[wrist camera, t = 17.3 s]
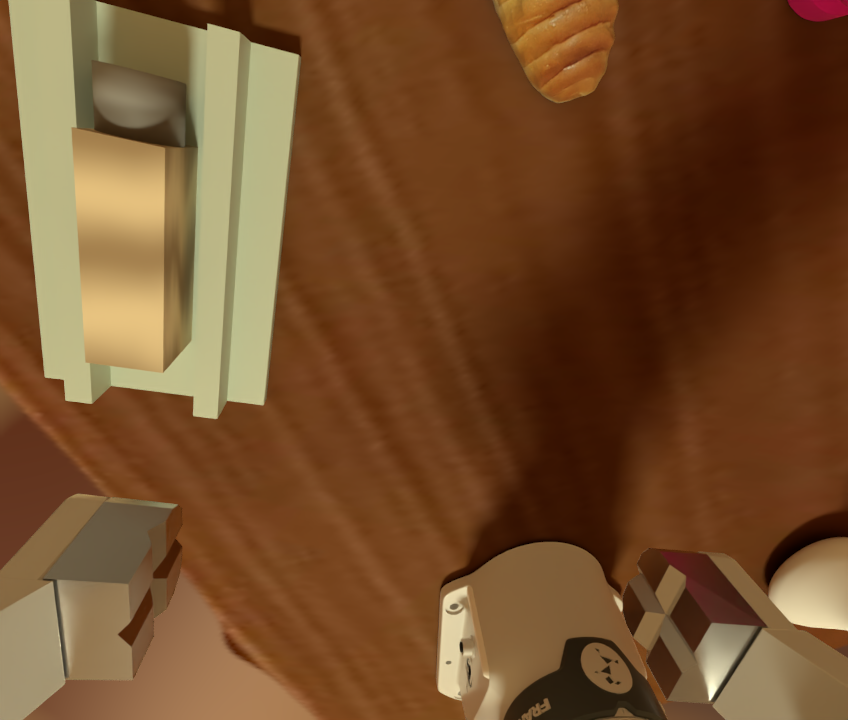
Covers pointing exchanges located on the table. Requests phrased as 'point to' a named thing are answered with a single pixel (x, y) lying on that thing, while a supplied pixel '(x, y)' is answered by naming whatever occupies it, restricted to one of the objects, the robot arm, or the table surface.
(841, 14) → the pepper mill
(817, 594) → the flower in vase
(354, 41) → the table surface
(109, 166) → the grey-capped wooden block
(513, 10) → the pastry
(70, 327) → the grooved moulding strip
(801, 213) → the table surface
